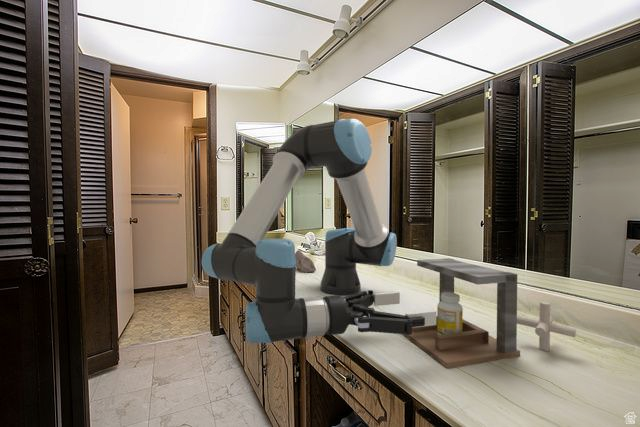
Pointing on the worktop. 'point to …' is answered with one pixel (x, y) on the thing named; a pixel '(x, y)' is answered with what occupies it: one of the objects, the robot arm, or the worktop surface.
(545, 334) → the pipe connector
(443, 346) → the keeper holder
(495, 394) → the worktop surface
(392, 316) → the robot arm
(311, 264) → the pumice stone
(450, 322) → the supplement bottle
